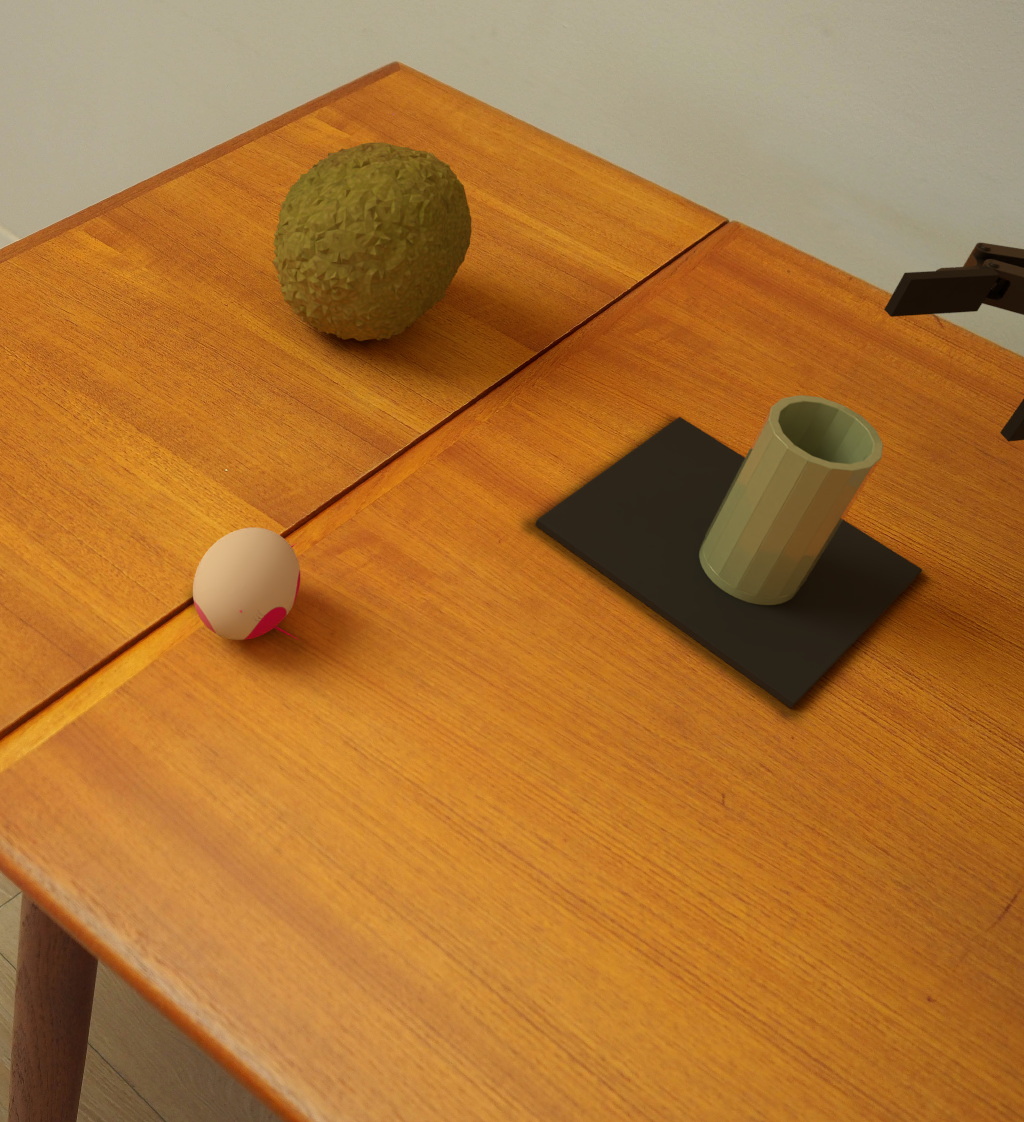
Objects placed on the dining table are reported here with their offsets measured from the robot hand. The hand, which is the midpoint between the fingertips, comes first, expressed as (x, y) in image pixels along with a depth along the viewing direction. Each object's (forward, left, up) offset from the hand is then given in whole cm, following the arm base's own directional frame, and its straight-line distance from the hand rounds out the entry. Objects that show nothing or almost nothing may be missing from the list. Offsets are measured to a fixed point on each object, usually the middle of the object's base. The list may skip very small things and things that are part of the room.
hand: (954, 353), depth 74 cm
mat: (+5, +4, -18) cm, 19 cm away
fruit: (+39, +5, -18) cm, 43 cm away
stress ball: (+21, +34, -18) cm, 44 cm away
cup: (+3, +5, -17) cm, 18 cm away
